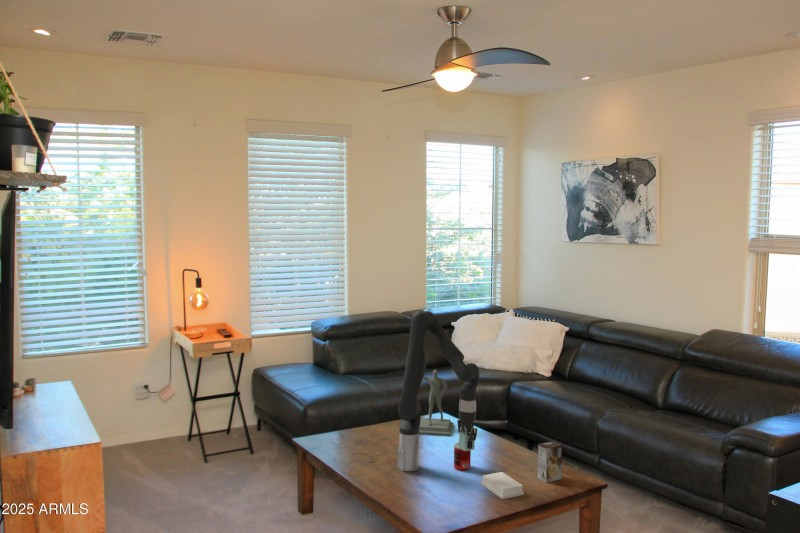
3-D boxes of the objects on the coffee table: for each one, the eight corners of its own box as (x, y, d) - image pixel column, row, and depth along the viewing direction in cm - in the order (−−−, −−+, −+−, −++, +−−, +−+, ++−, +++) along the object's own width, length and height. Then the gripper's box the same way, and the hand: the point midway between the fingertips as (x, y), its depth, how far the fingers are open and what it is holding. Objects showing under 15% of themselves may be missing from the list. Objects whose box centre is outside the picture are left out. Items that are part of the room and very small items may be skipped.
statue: (412, 434, 359) (413, 369, 355) (417, 422, 378) (418, 361, 375) (450, 436, 355) (451, 371, 352) (453, 425, 374) (454, 363, 371)
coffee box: (552, 474, 305) (553, 440, 304) (562, 479, 299) (563, 444, 298) (536, 477, 301) (537, 443, 299) (546, 483, 295) (547, 448, 294)
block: (464, 451, 290) (464, 435, 289) (458, 447, 295) (459, 432, 294) (474, 449, 292) (474, 434, 291) (468, 445, 297) (469, 430, 296)
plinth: (502, 499, 278) (502, 490, 278) (481, 483, 294) (481, 475, 293) (524, 494, 283) (524, 485, 283) (502, 479, 298) (502, 471, 298)
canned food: (472, 466, 314) (472, 443, 313) (467, 472, 307) (467, 449, 306) (457, 463, 317) (457, 441, 316) (451, 469, 310) (451, 446, 309)
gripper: (452, 405, 297) (451, 442, 298) (468, 414, 284) (467, 453, 285) (466, 403, 300) (465, 440, 301) (483, 412, 287) (482, 450, 288)
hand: (466, 446), depth 293 cm, fingers closed on block, 5 cm apart
